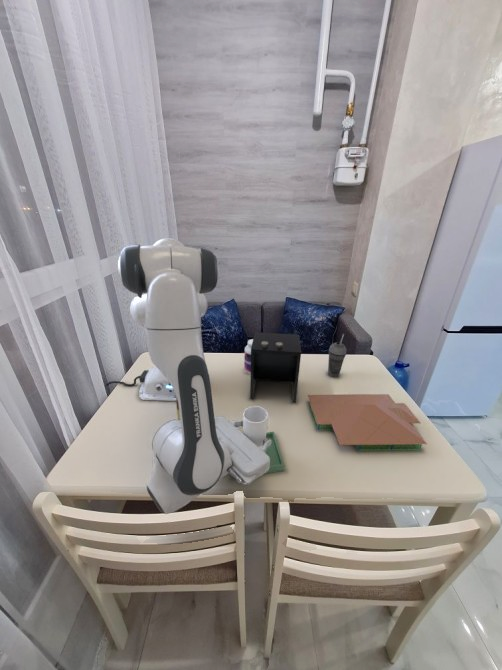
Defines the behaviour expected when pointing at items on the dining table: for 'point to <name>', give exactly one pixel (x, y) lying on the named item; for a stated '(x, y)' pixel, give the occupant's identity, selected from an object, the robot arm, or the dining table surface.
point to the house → (367, 420)
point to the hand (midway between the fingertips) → (257, 430)
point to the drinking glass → (255, 424)
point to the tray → (274, 454)
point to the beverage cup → (336, 358)
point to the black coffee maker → (275, 359)
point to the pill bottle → (248, 357)
